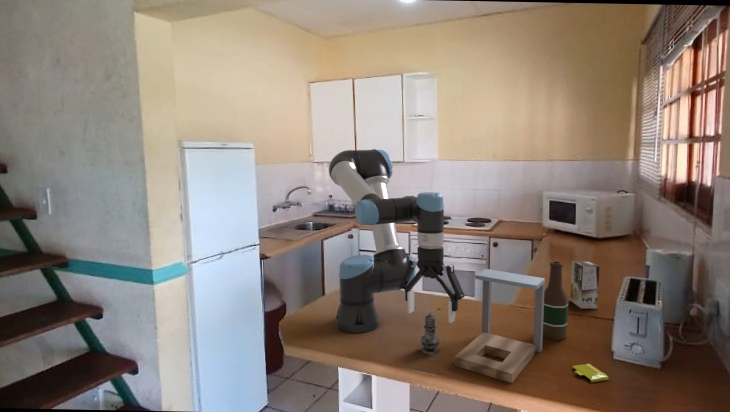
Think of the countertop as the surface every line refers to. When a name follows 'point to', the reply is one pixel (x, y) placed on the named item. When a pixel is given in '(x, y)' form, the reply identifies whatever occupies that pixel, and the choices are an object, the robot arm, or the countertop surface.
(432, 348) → the grey chess piece
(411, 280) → the robot arm
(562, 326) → the beer bottle
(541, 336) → the grey arch frame
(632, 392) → the countertop surface
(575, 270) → the coffee box
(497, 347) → the socket
